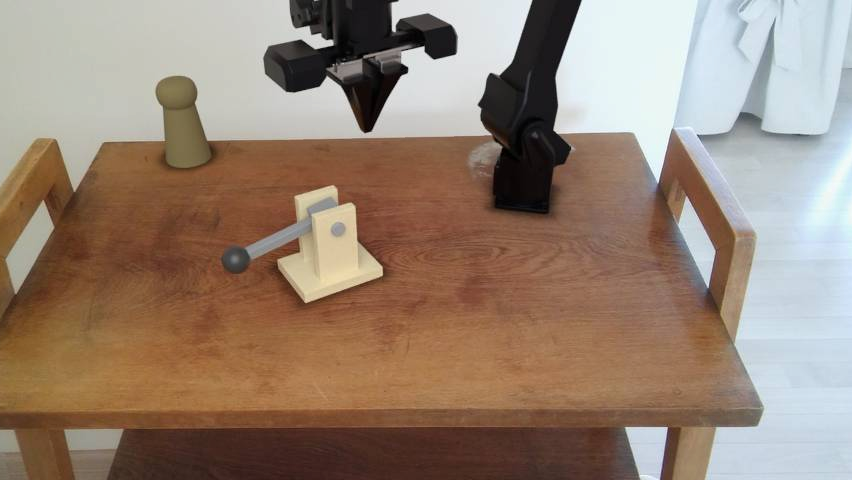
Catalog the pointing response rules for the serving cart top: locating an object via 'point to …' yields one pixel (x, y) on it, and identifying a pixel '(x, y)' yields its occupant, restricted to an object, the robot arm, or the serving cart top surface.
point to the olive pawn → (182, 123)
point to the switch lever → (271, 241)
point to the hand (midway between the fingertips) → (366, 131)
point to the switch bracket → (328, 250)
